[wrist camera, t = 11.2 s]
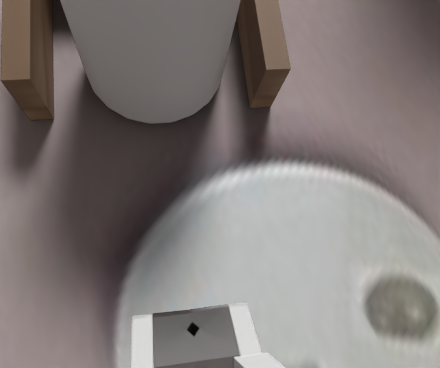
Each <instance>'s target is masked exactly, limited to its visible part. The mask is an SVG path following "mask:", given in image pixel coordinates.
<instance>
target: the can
mask: <svg viewBox="0 0 440 368" xmlns="http://www.w3.org/2000/svg"><path fill="white" fill-rule="evenodd" d="M60 1H61V4H62V7H63V10H64V13H65V16H66V18H67V21H68V24H69V27H70V30H71V33H72V35H73V38H74V41H75V44H76V47H77V50H78V53H79V55H80V58H81V61H82V64H83V67H84V70H85V72H86V75H87V77H88V80H89V82H90V84H91V87H92V89H93V91H94V93H95V94H96V95H97V96H98V97H99V98H100V99H101V100H102V101H103V102H104V104H105V105H106V106H107V107H108V108H110V109H112V110H113V111H115V112H117V113H119V114H120V115H122V116H124V117H126V118H128V119H132V120H136V121H140V122H145V123H149V124H152V123H170V122H175V121H177V120H180V119H183V118H186V117H188V116H191V115H193V114H195V113H196V112H197V111H198V110H200V109H201V108H202V107H204V106H205V105H206V104H207V103H209V102H210V100H211V99H212V97H213V95H214V94H215V92H216V91H217V89H218V88H219V86H220V83H221V78H222V74H223V70H224V66H225V62H226V58H227V54H228V50H229V46H230V42H231V37H232V33H233V29H234V25H235V21H236V17H237V13H238V9H239V5H240V1H241V0H60Z"/></svg>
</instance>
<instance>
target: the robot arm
mask: <svg viewBox="0 0 440 368" xmlns="http://www.w3.org/2000/svg"><path fill="white" fill-rule="evenodd" d="M130 368H285V367H284V366H283V365H282V364H281V363H279V362H278V361H277V360H276V359H275V358H274V357H273V356H271V355H270V354H269V353H268V352H266V353H262V351H261V347H260V344H259V341H258V337H257V334H256V330H255V327H254V324H253V320H252V317H251V313H250V310H249V306H248V304H247V303H246V302H241V303H234V304H228V305H227V304H225V305H218V306H210V307H203V308H196V309H190V310H183V311H173V312H163V313H153V314H146V315H136V316H133V318H132V325H131V354H130Z"/></svg>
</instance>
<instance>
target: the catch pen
mask: <svg viewBox="0 0 440 368" xmlns="http://www.w3.org/2000/svg"><path fill="white" fill-rule="evenodd" d="M236 18H237V25H238V31H239V38H240V45H241V51H242V58H243V64H244V71H245V78H246V84H247V91H248V97H249V104H250V108H258V107H271V105H272V103H273V101H274V99H275V98H276V96H277V94H278V92H279V90H280V88H281V86H282V84H283V82H284V81H285V79H286V77H287V75H288V73H289V71H290V69H291V67H290V62H289V56H288V51H287V46H286V40H285V35H284V29H283V24H282V19H281V13H280V8H279V2H278V0H241V1H240V5H239V9H238V13H237V17H236ZM1 82H2V83H3V84H4V86H5V87H6V88H7V90H8V91H9V92H10V94H11V95H12V96H13V98H14V99H15V100H16V102H17V103H18V104H19V106H20V107H21V108H22V110H23V111H24V112H25V114H26V115H27V116H28V118H29V119H30V120H36V119H54V79H53V8H52V0H2V41H1Z"/></svg>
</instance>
